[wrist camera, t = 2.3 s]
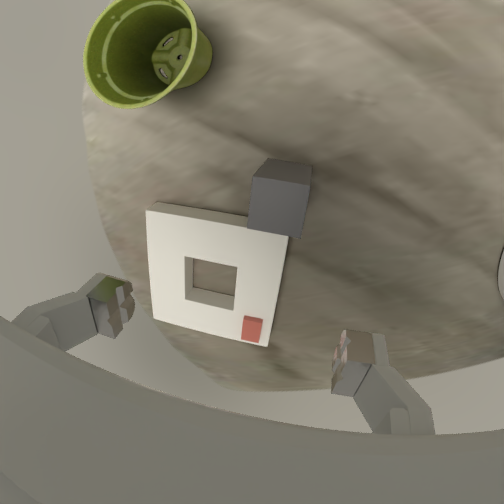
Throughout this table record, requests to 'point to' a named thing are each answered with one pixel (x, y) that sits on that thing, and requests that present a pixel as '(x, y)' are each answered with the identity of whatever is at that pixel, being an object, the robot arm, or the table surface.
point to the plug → (279, 197)
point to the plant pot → (144, 52)
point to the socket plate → (220, 251)
